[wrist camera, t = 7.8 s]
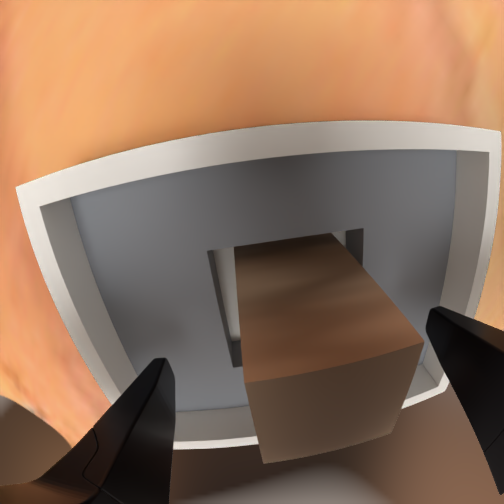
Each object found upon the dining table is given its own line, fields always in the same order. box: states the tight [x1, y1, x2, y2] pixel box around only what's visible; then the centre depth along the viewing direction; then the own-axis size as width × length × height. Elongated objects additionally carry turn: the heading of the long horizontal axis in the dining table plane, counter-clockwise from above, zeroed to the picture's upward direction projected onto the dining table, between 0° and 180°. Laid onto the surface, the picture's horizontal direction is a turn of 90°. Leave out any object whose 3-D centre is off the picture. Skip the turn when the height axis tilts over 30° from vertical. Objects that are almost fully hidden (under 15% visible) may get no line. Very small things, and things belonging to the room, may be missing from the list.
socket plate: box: [70, 149, 457, 412], centre depth 12 cm, size 14×11×2 cm
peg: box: [234, 233, 425, 463], centre depth 9 cm, size 4×4×7 cm
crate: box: [16, 120, 501, 449], centre depth 11 cm, size 16×13×4 cm
